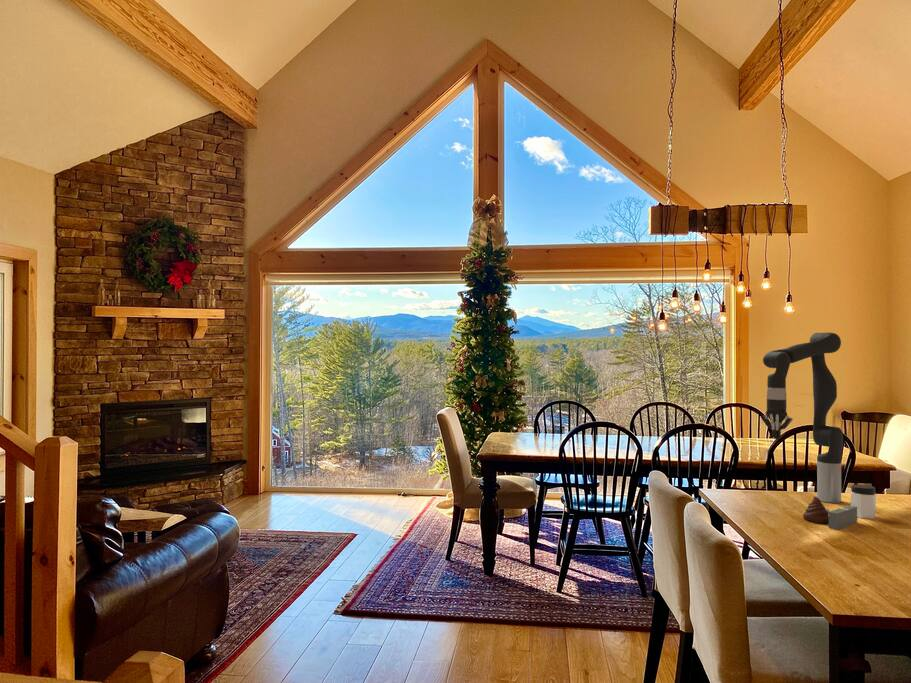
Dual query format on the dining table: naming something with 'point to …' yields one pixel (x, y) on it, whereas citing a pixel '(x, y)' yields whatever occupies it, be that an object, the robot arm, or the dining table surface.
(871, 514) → the jar
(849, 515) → the rail
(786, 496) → the dining table surface
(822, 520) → the poop emoji
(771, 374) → the robot arm
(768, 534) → the dining table surface
